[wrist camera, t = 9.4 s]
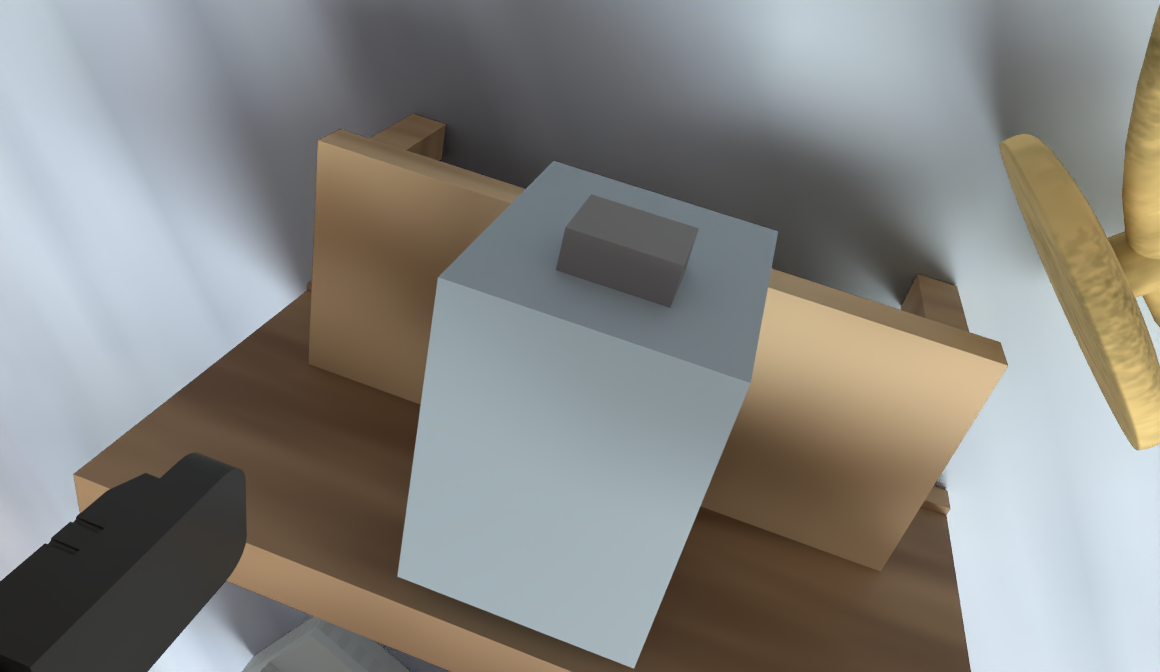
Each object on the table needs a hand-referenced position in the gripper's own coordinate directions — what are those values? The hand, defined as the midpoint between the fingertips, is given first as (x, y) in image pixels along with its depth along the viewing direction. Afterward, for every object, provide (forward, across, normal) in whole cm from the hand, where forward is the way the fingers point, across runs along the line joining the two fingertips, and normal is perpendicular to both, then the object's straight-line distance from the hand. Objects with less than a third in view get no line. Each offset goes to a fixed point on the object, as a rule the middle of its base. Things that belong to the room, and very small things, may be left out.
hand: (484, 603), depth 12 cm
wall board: (+13, 0, +4) cm, 13 cm away
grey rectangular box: (+9, 0, 0) cm, 9 cm away
